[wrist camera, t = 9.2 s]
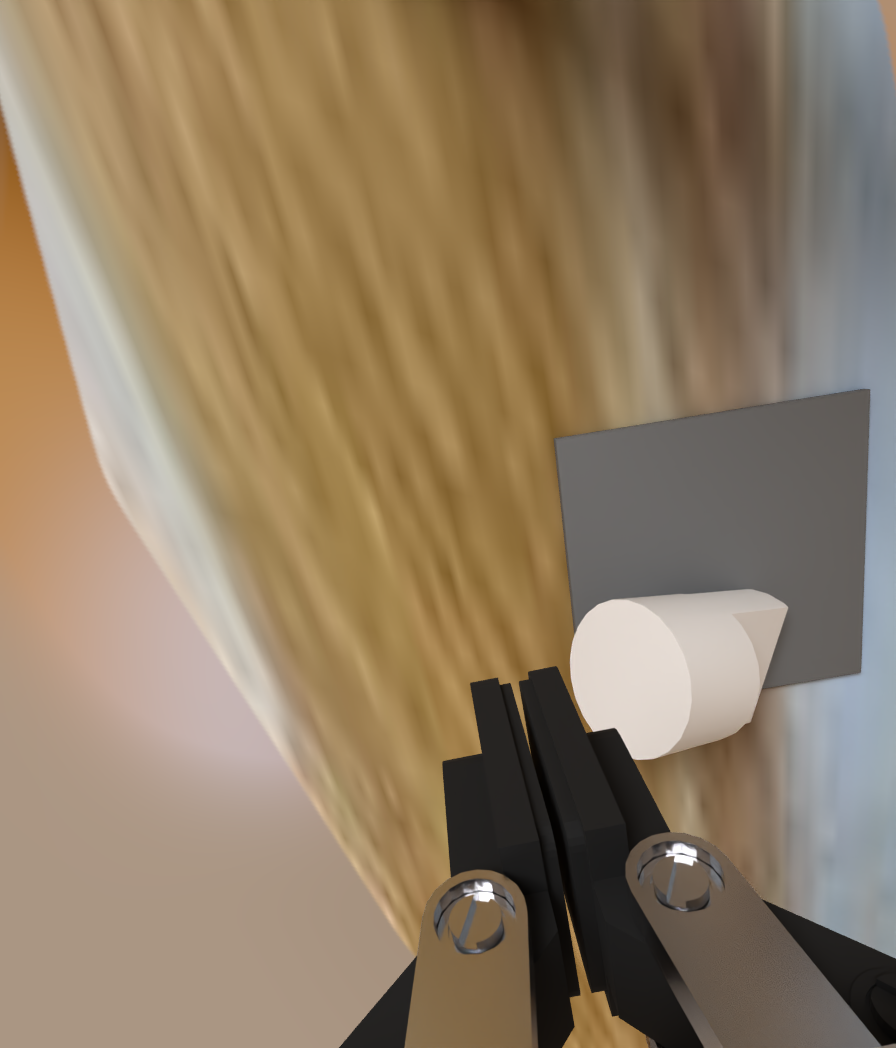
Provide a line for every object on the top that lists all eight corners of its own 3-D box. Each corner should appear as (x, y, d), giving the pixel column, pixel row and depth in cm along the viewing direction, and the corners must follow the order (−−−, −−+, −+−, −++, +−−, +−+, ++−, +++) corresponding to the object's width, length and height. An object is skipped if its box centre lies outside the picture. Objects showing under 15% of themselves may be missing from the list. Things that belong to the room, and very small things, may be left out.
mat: (553, 438, 40) (555, 439, 39) (863, 388, 40) (870, 389, 39) (582, 713, 45) (585, 718, 45) (855, 668, 45) (860, 672, 45)
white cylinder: (557, 704, 41) (678, 681, 47) (666, 794, 34) (791, 752, 40) (588, 575, 39) (710, 569, 45) (712, 642, 31) (837, 623, 38)
